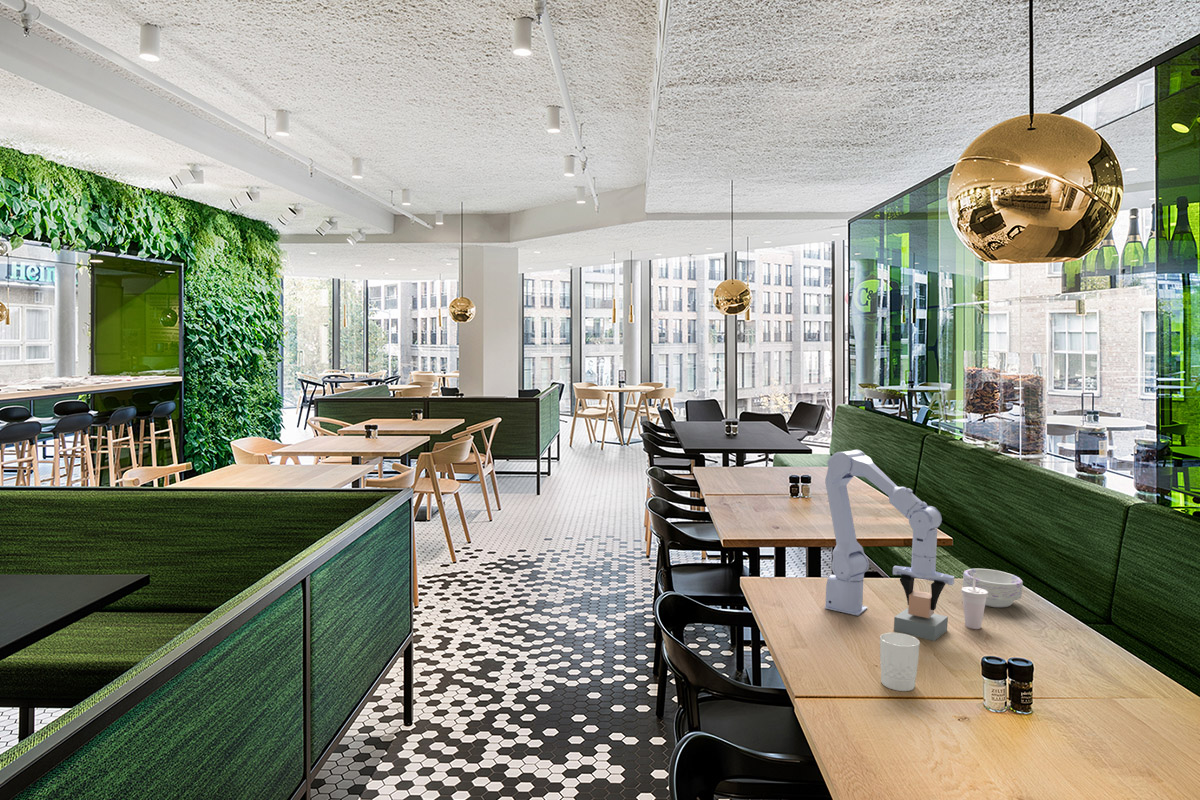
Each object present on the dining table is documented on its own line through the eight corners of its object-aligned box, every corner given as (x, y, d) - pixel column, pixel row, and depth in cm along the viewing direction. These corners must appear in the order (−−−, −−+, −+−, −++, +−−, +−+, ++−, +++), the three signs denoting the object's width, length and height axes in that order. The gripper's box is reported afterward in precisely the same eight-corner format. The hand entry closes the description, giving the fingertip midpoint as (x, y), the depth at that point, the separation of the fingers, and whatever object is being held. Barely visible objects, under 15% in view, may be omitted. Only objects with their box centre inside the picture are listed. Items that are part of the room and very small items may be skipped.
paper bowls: (1032, 612, 212) (1034, 584, 211) (977, 610, 212) (978, 582, 211) (1004, 594, 227) (1005, 568, 226) (952, 593, 227) (954, 567, 226)
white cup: (916, 680, 166) (918, 635, 165) (918, 695, 158) (921, 648, 158) (877, 674, 168) (879, 630, 168) (878, 689, 161) (880, 643, 160)
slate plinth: (893, 632, 195) (894, 616, 195) (907, 622, 203) (908, 607, 203) (934, 642, 189) (934, 626, 189) (947, 631, 196) (947, 616, 196)
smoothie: (980, 622, 202) (983, 570, 201) (990, 631, 196) (993, 578, 195) (955, 621, 203) (958, 569, 202) (964, 630, 196) (967, 576, 196)
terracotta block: (908, 613, 195) (909, 594, 195) (913, 608, 199) (914, 590, 199) (928, 618, 192) (929, 598, 192) (933, 613, 196) (934, 593, 196)
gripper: (890, 552, 196) (887, 604, 197) (950, 563, 187) (948, 617, 188) (898, 547, 201) (895, 597, 202) (957, 557, 193) (954, 609, 193)
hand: (921, 606), depth 195 cm, fingers closed on terracotta block, 5 cm apart
